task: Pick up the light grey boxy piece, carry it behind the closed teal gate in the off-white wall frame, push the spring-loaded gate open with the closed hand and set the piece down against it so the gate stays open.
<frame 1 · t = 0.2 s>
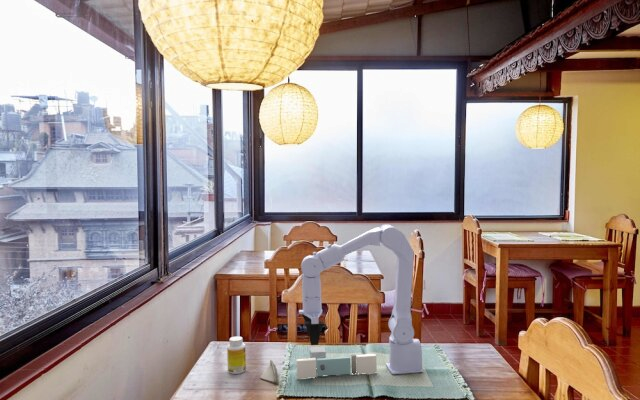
hand: (313, 340, 142), 10 cm above the table, fingers open, 7 cm apart
light grey boxy piece: (318, 366, 146), on the table
door: (334, 367, 139), point 3 cm above the table, hinge at 0.0°
ceramic fragment: (272, 377, 141), on the table
supplement bottle: (237, 371, 144), on the table
frame: (354, 374, 140), on the table
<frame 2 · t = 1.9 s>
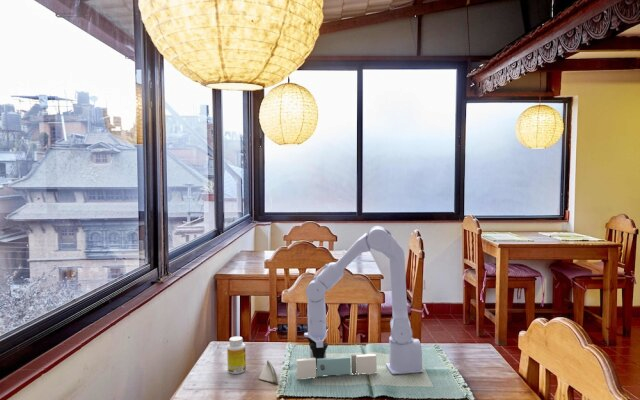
hand: (317, 362, 146), 1 cm above the table, fingers closed on light grey boxy piece, 4 cm apart
light grey boxy piece: (317, 366, 146), on the table, touching gripper
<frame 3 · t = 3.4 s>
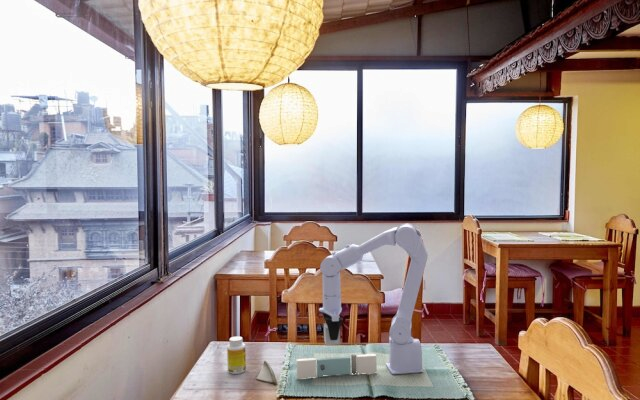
hand: (332, 337, 147), 9 cm above the table, fingers closed on light grey boxy piece, 4 cm apart
light grey boxy piece: (332, 342, 147), point 7 cm above the table, touching gripper
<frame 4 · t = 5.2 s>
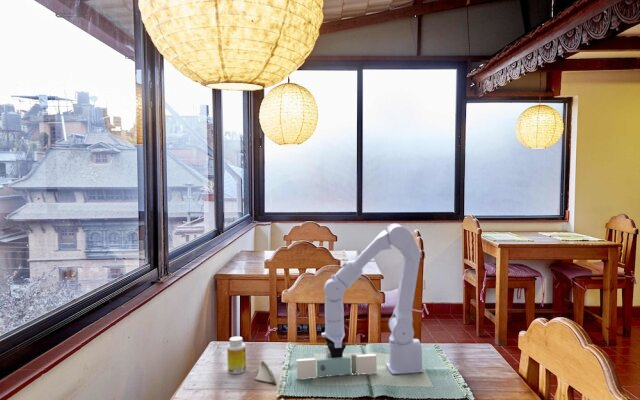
hand: (335, 362, 143), 2 cm above the table, fingers closed on light grey boxy piece, 4 cm apart
light grey boxy piece: (334, 367, 143), point 1 cm above the table, touching gripper
door: (334, 367, 138), point 3 cm above the table, hinge at 1.8°, touching gripper
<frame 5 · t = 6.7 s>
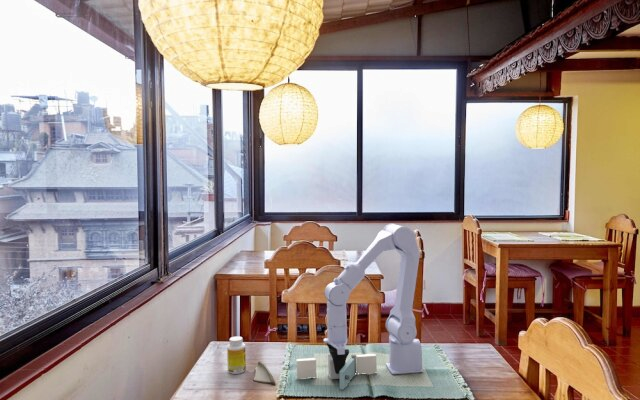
hand: (337, 369, 138), 2 cm above the table, fingers closed on light grey boxy piece, 4 cm apart
light grey boxy piece: (337, 375, 138), point 1 cm above the table, touching gripper
door: (349, 373, 134), point 3 cm above the table, hinge at 61.5°, touching gripper
when the fingers open (2 cm above the table, at t = 7.1 s): light grey boxy piece stays where it is, on the table.
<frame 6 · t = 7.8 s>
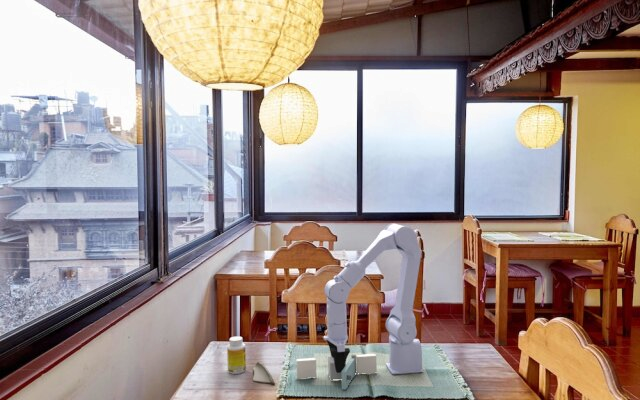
hand: (338, 366, 138), 3 cm above the table, fingers open, 7 cm apart
light grey boxy piece: (337, 377, 138), on the table
door: (350, 373, 134), point 3 cm above the table, hinge at 64.6°, touching gripper
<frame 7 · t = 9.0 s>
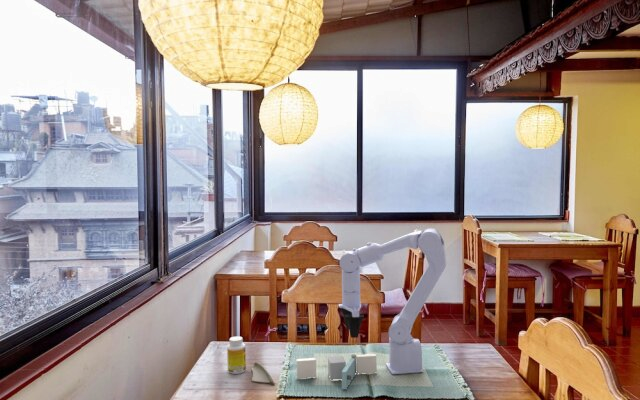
hand: (352, 333, 147), 10 cm above the table, fingers open, 7 cm apart
door: (350, 373, 134), point 3 cm above the table, hinge at 64.9°
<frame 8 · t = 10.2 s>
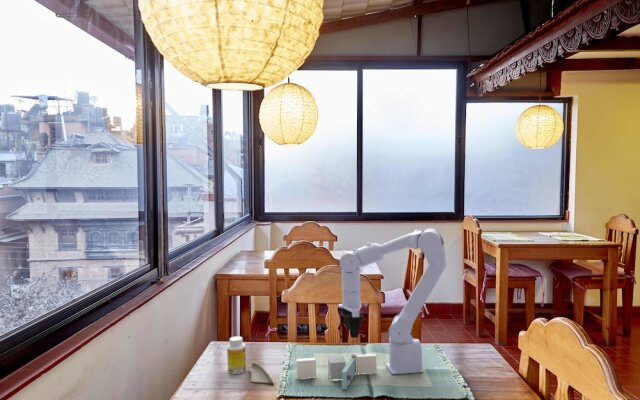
hand: (352, 333, 147), 10 cm above the table, fingers open, 7 cm apart
at the end: door at +65° (first picture: +0°); the gripper is holding nothing; light grey boxy piece 5.5 cm from the door (horizontally) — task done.
